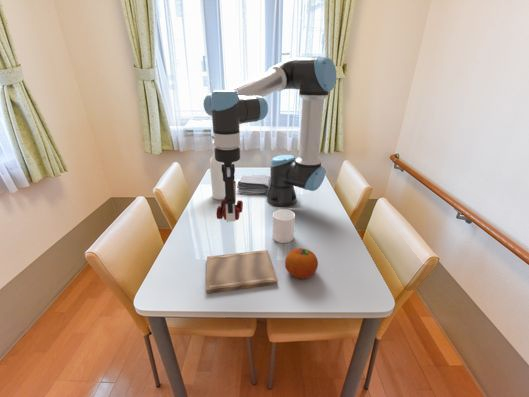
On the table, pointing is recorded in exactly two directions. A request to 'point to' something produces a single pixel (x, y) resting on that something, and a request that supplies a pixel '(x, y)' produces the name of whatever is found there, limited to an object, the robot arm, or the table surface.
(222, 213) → the toy fire truck
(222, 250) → the table surface
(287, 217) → the mug
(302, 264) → the fruit
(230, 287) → the board
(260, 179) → the towel
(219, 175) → the bottle
